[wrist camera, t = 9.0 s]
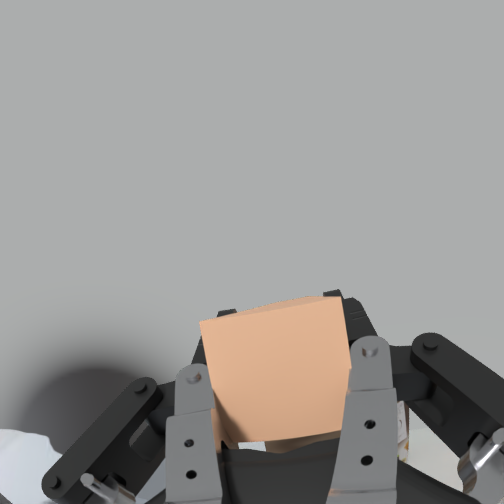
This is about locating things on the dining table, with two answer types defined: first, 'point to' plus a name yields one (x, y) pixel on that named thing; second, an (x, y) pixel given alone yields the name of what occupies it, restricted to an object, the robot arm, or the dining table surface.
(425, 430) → the dining table surface
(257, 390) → the block
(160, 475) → the pedestal
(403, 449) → the coffee box
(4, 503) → the coffee pot
